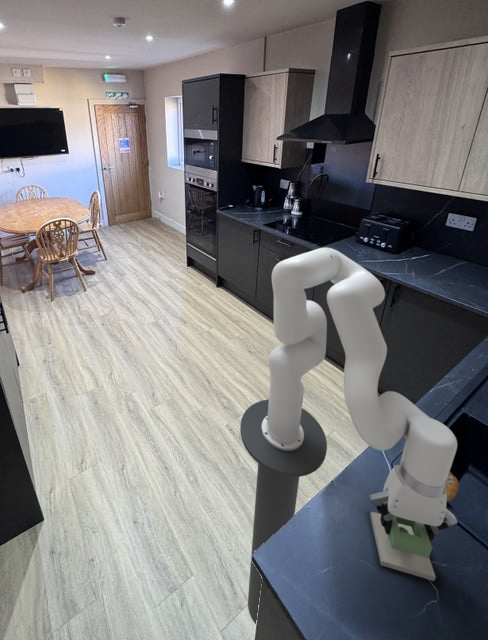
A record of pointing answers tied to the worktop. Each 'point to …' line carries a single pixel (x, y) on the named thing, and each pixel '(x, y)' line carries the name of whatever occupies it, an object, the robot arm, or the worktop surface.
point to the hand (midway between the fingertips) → (405, 531)
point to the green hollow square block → (410, 538)
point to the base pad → (400, 552)
